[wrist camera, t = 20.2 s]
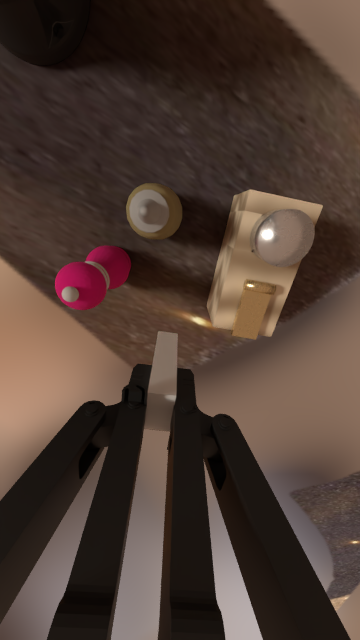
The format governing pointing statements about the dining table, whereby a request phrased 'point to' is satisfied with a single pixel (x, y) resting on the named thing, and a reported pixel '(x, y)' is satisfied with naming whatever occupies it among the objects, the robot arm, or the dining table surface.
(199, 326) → the dining table surface
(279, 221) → the silver capsule
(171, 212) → the squeeze bottle
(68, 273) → the pepper mill
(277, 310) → the maple block
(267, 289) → the brass latch
